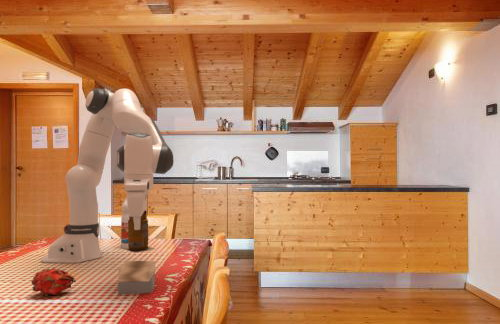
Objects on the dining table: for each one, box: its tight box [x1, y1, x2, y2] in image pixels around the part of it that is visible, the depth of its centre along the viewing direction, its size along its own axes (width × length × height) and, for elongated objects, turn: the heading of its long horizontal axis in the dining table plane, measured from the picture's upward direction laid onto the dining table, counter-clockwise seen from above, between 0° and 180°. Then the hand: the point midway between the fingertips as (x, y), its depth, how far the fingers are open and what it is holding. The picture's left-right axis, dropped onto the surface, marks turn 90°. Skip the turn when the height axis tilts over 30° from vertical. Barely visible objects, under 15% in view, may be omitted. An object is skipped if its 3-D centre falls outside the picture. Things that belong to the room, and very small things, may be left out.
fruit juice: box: [120, 195, 130, 248], centre depth 179 cm, size 9×9×28 cm
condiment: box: [121, 209, 156, 253], centre depth 117 cm, size 7×8×12 cm
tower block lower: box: [117, 273, 156, 295], centre depth 117 cm, size 10×10×4 cm
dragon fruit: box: [31, 267, 77, 298], centre depth 111 cm, size 8×8×12 cm
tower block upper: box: [117, 260, 156, 283], centre depth 117 cm, size 9×9×4 cm
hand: (138, 227), depth 117 cm, fingers closed on condiment, 6 cm apart
